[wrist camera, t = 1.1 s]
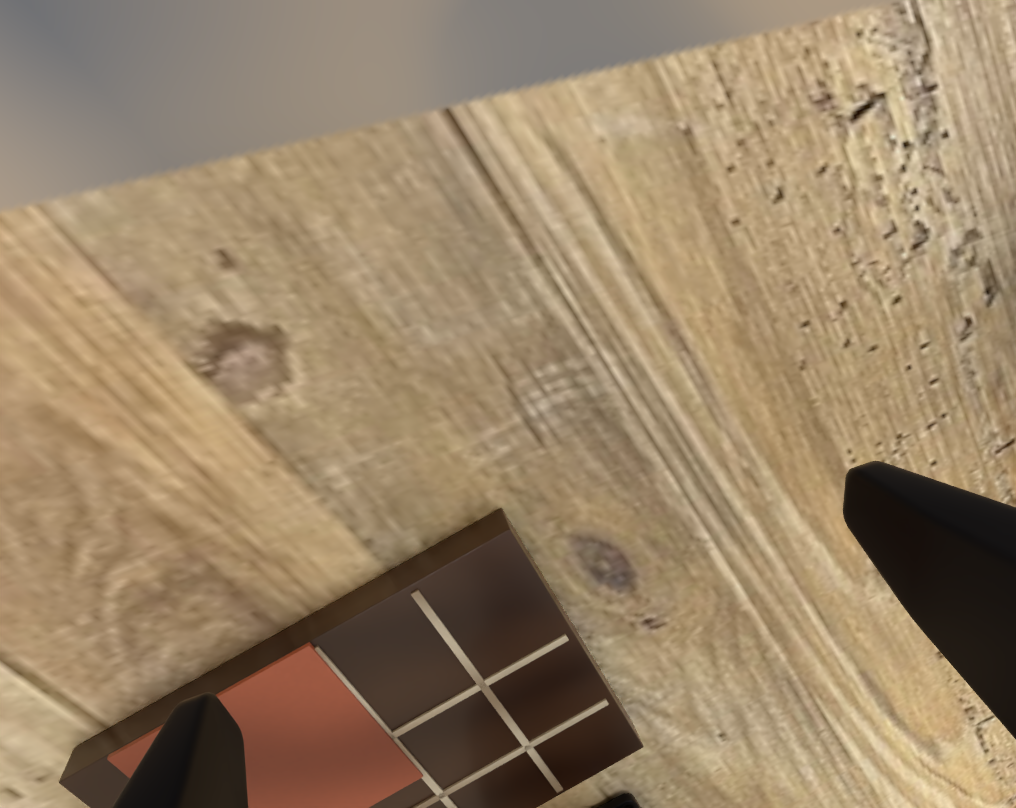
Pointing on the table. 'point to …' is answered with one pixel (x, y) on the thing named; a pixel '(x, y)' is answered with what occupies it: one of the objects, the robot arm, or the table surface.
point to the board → (406, 694)
